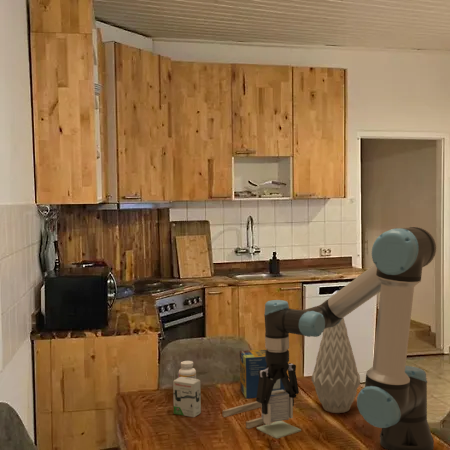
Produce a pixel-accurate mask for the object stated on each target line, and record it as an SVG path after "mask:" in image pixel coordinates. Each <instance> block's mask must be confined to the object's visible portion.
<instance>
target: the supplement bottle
mask: <svg viewBox="0 0 450 450" xmlns="http://www.w3.org/2000/svg"><path fill="white" fill-rule="evenodd" d="M179 377H187V378H193V379H197V370H196V368H194V361H193V360H184V361H181V362H180V368H179V370H178V378H179Z"/></svg>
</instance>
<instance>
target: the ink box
mask: <svg viewBox="0 0 450 450" xmlns="http://www.w3.org/2000/svg"><path fill="white" fill-rule="evenodd" d="M172 384H173V386H172V390H173V391H172V392H173V394H172V395H173V398H172V399H173V415H178V416H185V417H190V418H195V417H197V416H199V415H200V414H201V413H202V405H201V403H202V402H201V401H202V400H201V399H202V397H201V380H200V379H198V378H196V379H193V378H187V377H179V376H178V377H177V378H176V379H174V380H173V381H172Z"/></svg>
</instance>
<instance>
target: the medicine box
mask: <svg viewBox="0 0 450 450" xmlns="http://www.w3.org/2000/svg"><path fill="white" fill-rule="evenodd" d="M269 404H271V423H273V422H276V421H288V420H290V418H289V394H288V393H287V392H286V390H285V391H284V390H276V391H272V393H271V396H270V400H269ZM260 408H261V409H262V404H261V407H260ZM261 417H262V419H263V420H264V417H263V413H262V412H261Z"/></svg>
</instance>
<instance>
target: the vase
mask: <svg viewBox="0 0 450 450" xmlns="http://www.w3.org/2000/svg"><path fill="white" fill-rule="evenodd" d="M311 382H312V384H313V386H314V388H315V392H316V396H317V398H318V401H319V403H321V405H322V409H323V410H324V411H327V412H329V413H332V414H334V413H335V414H340V413H347V412H349V411H350V409H351V406H352V405H353V403H354V401H355V398H356V396H357V395H358V394H357V390H358V388H359V387H360V386H361V375H360V373H359V372H358V367H357V363H356V360H355V356H354V352H353V349H352V346H351V341H350V337H349V335H348V329H347V326H346V323H345V317H344V318H342V320H341V322H340V323H339V324H337V325H335V326H333V327H329V328H326V329H324V331H323V332H322V338H321V341H320V344H319V349H318V352H317V356H316V362H315V366H314V368H313V372H312V376H311Z"/></svg>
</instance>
